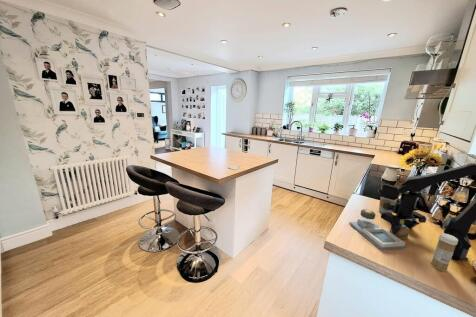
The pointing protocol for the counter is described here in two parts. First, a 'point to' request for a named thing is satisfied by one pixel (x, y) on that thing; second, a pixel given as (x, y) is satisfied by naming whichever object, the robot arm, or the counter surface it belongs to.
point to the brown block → (401, 232)
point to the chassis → (377, 235)
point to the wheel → (367, 214)
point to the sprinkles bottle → (444, 251)
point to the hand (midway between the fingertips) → (398, 233)
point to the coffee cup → (387, 202)
